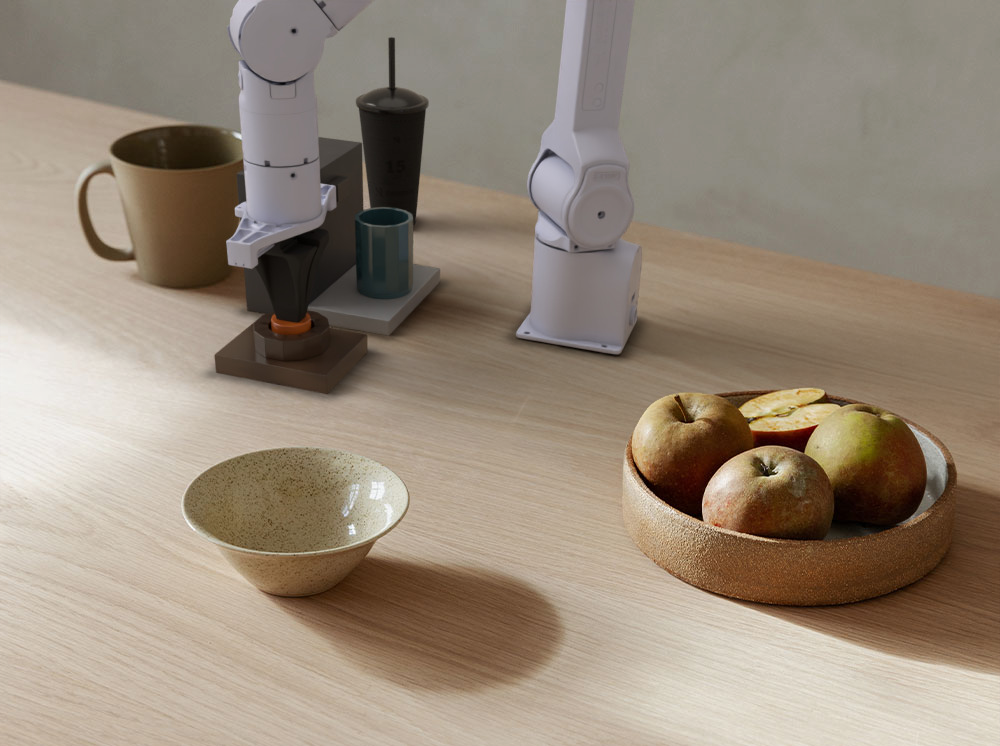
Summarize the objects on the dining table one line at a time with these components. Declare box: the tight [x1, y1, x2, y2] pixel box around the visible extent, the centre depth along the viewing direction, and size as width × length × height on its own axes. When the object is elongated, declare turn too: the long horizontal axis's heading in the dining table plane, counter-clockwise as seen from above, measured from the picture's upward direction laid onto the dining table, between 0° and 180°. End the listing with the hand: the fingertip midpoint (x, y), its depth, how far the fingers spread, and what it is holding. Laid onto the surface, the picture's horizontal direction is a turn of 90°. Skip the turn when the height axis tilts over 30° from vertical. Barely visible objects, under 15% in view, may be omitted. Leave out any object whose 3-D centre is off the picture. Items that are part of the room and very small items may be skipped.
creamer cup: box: [355, 207, 414, 299], centre depth 101 cm, size 5×5×7 cm
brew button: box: [271, 313, 311, 335], centre depth 91 cm, size 3×3×2 cm
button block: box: [214, 310, 369, 395], centre depth 91 cm, size 10×8×4 cm
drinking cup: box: [355, 36, 430, 227], centre depth 118 cm, size 8×8×20 cm
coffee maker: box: [236, 136, 441, 337], centre depth 101 cm, size 14×13×13 cm
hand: (291, 318), depth 90 cm, fingers closed, pressing on brew button
